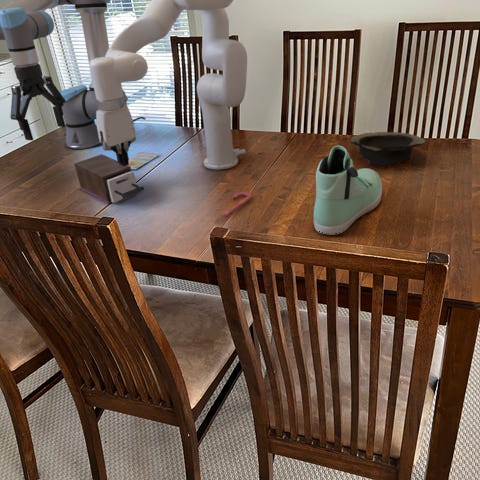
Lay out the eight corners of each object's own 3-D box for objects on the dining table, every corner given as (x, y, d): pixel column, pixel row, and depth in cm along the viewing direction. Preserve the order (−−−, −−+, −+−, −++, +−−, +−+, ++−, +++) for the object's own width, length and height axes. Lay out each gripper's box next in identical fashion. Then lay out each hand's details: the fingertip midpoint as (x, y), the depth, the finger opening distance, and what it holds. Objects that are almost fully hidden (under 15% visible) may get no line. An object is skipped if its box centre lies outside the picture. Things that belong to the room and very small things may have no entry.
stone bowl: (383, 178, 153) (383, 150, 149) (335, 160, 174) (334, 135, 169) (439, 159, 162) (442, 132, 158) (387, 144, 182) (388, 120, 178)
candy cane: (211, 213, 142) (210, 209, 141) (240, 193, 152) (239, 189, 151) (227, 218, 139) (226, 213, 138) (255, 197, 149) (255, 193, 148)
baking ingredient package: (116, 165, 178) (140, 152, 189) (116, 167, 178) (140, 153, 189) (135, 168, 174) (158, 154, 186) (135, 169, 174) (158, 155, 186)
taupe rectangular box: (135, 192, 158) (130, 166, 154) (108, 204, 153) (102, 177, 148) (107, 179, 170) (101, 154, 165) (80, 189, 164) (74, 163, 159)
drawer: (148, 197, 152) (144, 176, 148) (124, 208, 147) (119, 186, 143) (110, 179, 167) (106, 159, 163) (87, 188, 162) (81, 168, 158)
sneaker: (389, 187, 148) (396, 123, 138) (356, 242, 123) (361, 168, 112) (346, 181, 154) (350, 119, 144) (306, 232, 129) (307, 161, 118)
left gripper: (48, 56, 155) (65, 120, 166) (-18, 73, 137) (6, 144, 148) (65, 56, 152) (81, 122, 163) (0, 74, 134) (23, 147, 145)
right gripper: (126, 95, 142) (137, 154, 152) (81, 108, 134) (96, 169, 143) (140, 99, 138) (151, 159, 147) (94, 112, 129) (109, 175, 139)
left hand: (46, 133), depth 156 cm, fingers open, 13 cm apart
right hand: (124, 164), depth 145 cm, fingers closed
